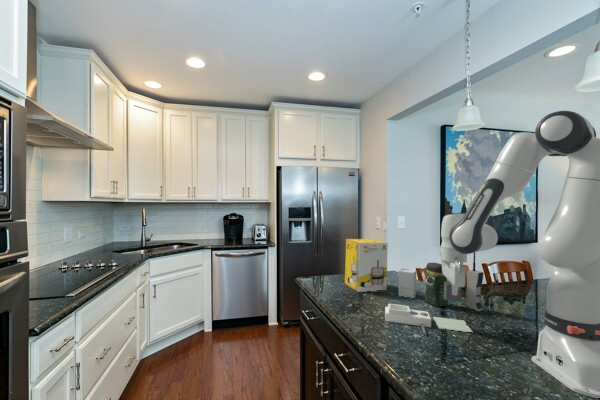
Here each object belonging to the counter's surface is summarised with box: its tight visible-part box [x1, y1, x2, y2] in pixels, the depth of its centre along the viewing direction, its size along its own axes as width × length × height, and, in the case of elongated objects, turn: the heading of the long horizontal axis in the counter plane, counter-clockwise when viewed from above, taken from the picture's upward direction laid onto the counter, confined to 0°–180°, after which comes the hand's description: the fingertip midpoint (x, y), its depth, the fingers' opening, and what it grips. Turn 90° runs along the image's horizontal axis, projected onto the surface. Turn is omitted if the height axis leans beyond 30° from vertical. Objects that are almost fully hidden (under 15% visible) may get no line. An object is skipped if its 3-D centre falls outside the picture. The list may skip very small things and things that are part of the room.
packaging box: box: [344, 238, 389, 293], centre depth 157 cm, size 16×16×25 cm
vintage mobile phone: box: [466, 252, 484, 312], centre depth 127 cm, size 4×5×25 cm
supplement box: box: [397, 268, 417, 299], centre depth 144 cm, size 7×7×13 cm
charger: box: [444, 282, 462, 303], centre depth 109 cm, size 4×5×7 cm
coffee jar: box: [424, 262, 449, 307], centre depth 133 cm, size 10×8×19 cm
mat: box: [432, 316, 474, 334], centre depth 109 cm, size 11×11×1 cm
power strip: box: [384, 303, 432, 337], centre depth 108 cm, size 16×16×4 cm
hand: (452, 292), depth 109 cm, fingers closed on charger, 4 cm apart
